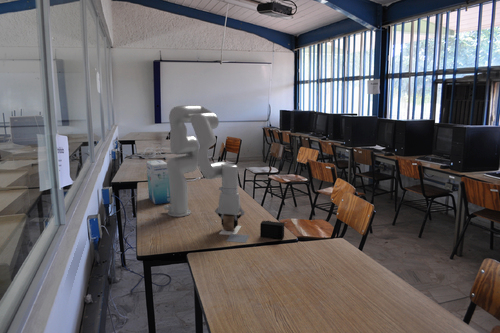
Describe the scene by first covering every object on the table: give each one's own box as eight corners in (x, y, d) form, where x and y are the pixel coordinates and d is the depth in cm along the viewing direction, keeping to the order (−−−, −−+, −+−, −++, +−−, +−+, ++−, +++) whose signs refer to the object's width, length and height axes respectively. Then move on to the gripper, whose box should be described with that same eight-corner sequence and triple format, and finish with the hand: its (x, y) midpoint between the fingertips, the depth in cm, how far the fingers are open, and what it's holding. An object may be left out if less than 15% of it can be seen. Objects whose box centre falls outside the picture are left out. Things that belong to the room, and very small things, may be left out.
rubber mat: (225, 241, 167) (225, 241, 167) (230, 234, 176) (230, 233, 176) (245, 243, 166) (245, 242, 166) (249, 235, 174) (249, 235, 174)
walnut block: (223, 229, 180) (223, 215, 179) (225, 226, 185) (225, 212, 183) (233, 230, 179) (233, 216, 178) (235, 227, 184) (235, 213, 182)
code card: (218, 234, 176) (218, 233, 176) (225, 225, 189) (225, 224, 189) (235, 235, 175) (235, 235, 175) (241, 226, 187) (241, 225, 187)
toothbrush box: (148, 198, 239) (146, 160, 234) (164, 196, 243) (162, 159, 239) (154, 205, 223) (152, 165, 219) (171, 203, 228) (170, 163, 223)
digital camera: (285, 236, 174) (285, 221, 173) (282, 240, 169) (282, 225, 168) (263, 233, 177) (263, 219, 176) (260, 237, 172) (260, 223, 171)
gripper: (210, 191, 176) (210, 228, 180) (245, 193, 173) (245, 231, 177) (214, 187, 183) (214, 222, 187) (248, 189, 180) (248, 225, 184)
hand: (229, 226), depth 182 cm, fingers closed on walnut block, 5 cm apart
